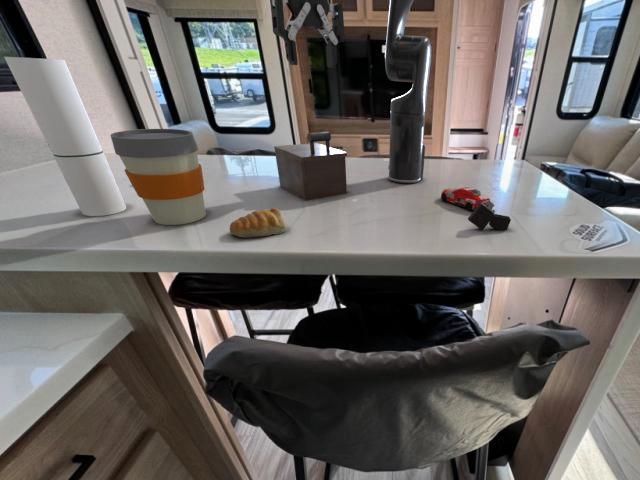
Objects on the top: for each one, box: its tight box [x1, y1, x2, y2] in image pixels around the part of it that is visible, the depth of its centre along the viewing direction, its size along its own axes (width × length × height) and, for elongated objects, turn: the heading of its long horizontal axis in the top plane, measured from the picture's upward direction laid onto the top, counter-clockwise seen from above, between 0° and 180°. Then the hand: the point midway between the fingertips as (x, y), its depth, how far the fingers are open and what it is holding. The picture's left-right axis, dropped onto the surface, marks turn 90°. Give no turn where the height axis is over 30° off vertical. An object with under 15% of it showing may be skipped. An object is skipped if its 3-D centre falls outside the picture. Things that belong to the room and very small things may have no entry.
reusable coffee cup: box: [110, 128, 207, 226], centre depth 62 cm, size 13×13×15 cm
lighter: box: [467, 201, 512, 231], centre depth 68 cm, size 8×2×5 cm
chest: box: [274, 149, 348, 201], centre depth 83 cm, size 14×12×9 cm
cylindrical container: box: [3, 56, 127, 217], centre depth 61 cm, size 7×7×25 cm
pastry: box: [229, 207, 287, 239], centre depth 61 cm, size 9×7×4 cm
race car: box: [440, 186, 491, 212], centre depth 80 cm, size 13×5×4 cm, turn 39°
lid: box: [273, 131, 348, 161], centre depth 79 cm, size 14×12×5 cm
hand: (313, 66), depth 68 cm, fingers open, 8 cm apart
